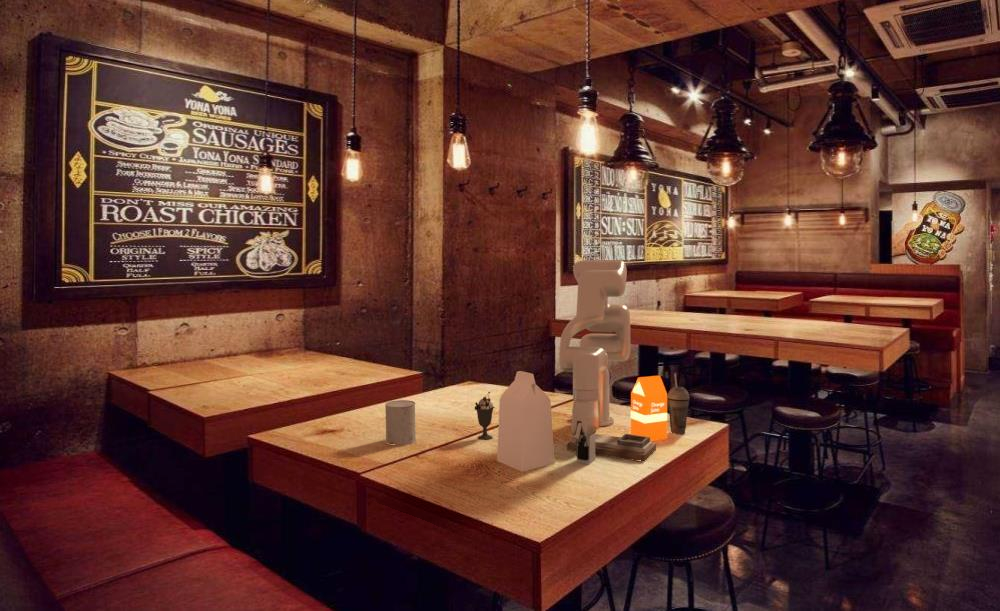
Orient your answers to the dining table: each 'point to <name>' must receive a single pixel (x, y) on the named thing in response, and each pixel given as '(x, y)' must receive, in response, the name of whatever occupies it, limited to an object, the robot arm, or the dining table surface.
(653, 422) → the orange juice
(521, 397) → the milk
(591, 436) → the white block dark cap
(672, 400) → the beverage cup
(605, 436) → the rail board
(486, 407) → the sundae
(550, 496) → the dining table surface
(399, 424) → the gray can
